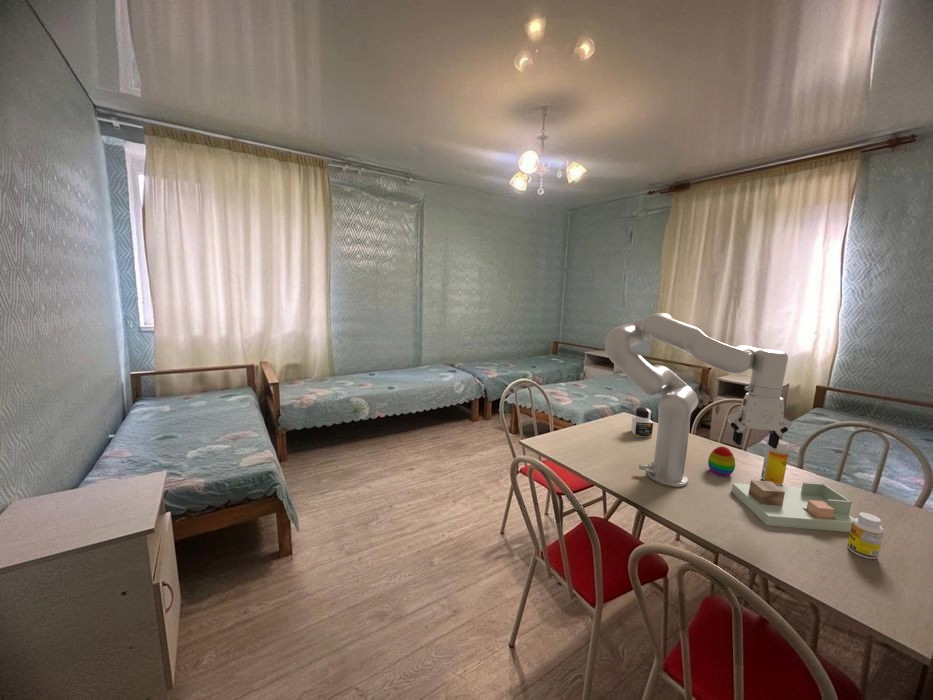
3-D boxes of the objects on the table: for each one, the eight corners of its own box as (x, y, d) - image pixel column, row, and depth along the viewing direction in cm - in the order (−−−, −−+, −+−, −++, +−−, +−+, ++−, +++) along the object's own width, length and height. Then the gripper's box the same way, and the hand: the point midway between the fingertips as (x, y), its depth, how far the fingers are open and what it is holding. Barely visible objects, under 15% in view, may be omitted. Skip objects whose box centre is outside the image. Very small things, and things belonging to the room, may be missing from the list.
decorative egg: (738, 479, 135) (743, 452, 134) (715, 478, 136) (719, 451, 134) (724, 467, 143) (728, 442, 142) (702, 466, 144) (705, 441, 142)
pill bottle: (786, 487, 131) (794, 445, 128) (766, 484, 132) (773, 444, 129) (776, 478, 136) (783, 438, 134) (757, 476, 138) (764, 436, 135)
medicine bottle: (634, 436, 171) (637, 410, 169) (630, 430, 178) (633, 405, 175) (651, 437, 170) (654, 412, 167) (647, 431, 176) (649, 406, 174)
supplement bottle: (845, 542, 103) (853, 507, 101) (875, 551, 100) (883, 516, 98) (847, 553, 99) (855, 517, 97) (878, 563, 95) (887, 526, 94)
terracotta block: (814, 527, 109) (818, 508, 108) (804, 518, 113) (808, 500, 112) (830, 528, 109) (834, 509, 108) (819, 519, 113) (823, 501, 112)
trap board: (766, 525, 110) (770, 503, 108) (731, 491, 127) (734, 471, 126) (859, 532, 107) (864, 510, 106) (809, 497, 125) (813, 477, 123)
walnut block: (760, 504, 115) (763, 490, 114) (748, 493, 121) (750, 480, 120) (782, 505, 114) (784, 492, 113) (769, 494, 120) (771, 481, 119)
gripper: (739, 392, 111) (729, 447, 115) (806, 397, 108) (794, 453, 112) (726, 385, 118) (717, 437, 122) (789, 390, 116) (778, 442, 119)
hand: (754, 445), depth 117 cm, fingers open, 9 cm apart
